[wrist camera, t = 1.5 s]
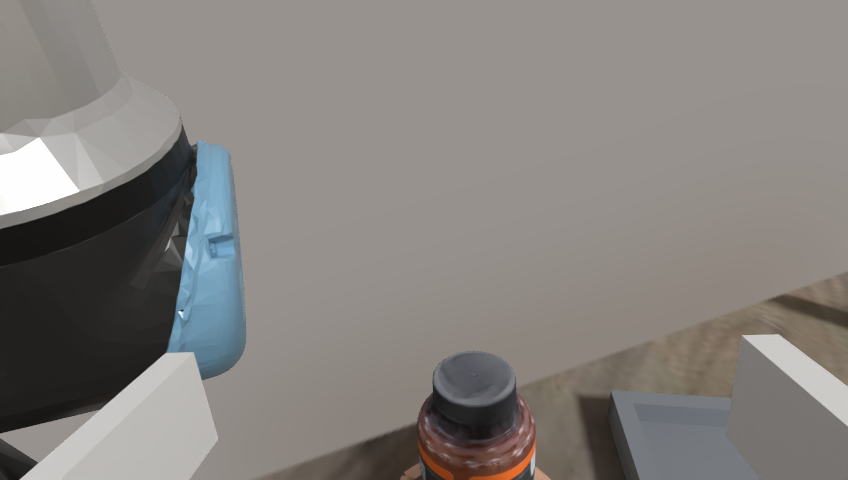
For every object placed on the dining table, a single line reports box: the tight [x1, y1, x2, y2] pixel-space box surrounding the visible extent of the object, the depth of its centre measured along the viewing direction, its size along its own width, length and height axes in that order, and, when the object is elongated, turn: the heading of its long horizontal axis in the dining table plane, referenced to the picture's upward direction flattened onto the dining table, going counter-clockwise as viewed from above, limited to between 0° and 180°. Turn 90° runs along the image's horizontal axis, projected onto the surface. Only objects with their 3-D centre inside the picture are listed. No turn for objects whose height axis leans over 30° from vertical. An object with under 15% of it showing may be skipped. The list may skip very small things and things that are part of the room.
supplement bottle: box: [417, 351, 536, 480], centre depth 23 cm, size 6×6×11 cm
